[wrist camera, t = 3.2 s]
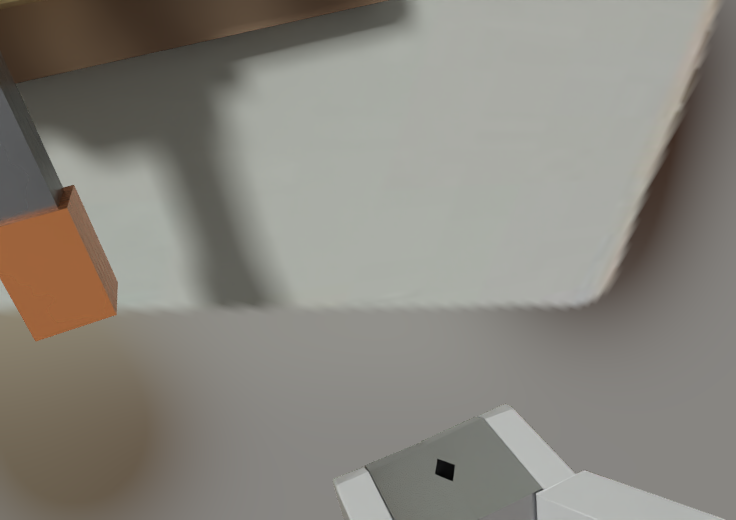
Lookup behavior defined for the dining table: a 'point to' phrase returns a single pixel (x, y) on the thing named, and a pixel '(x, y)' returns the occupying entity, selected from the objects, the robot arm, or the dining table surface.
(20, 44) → the base board
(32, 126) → the valve lever
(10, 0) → the valve pipe
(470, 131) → the dining table surface
